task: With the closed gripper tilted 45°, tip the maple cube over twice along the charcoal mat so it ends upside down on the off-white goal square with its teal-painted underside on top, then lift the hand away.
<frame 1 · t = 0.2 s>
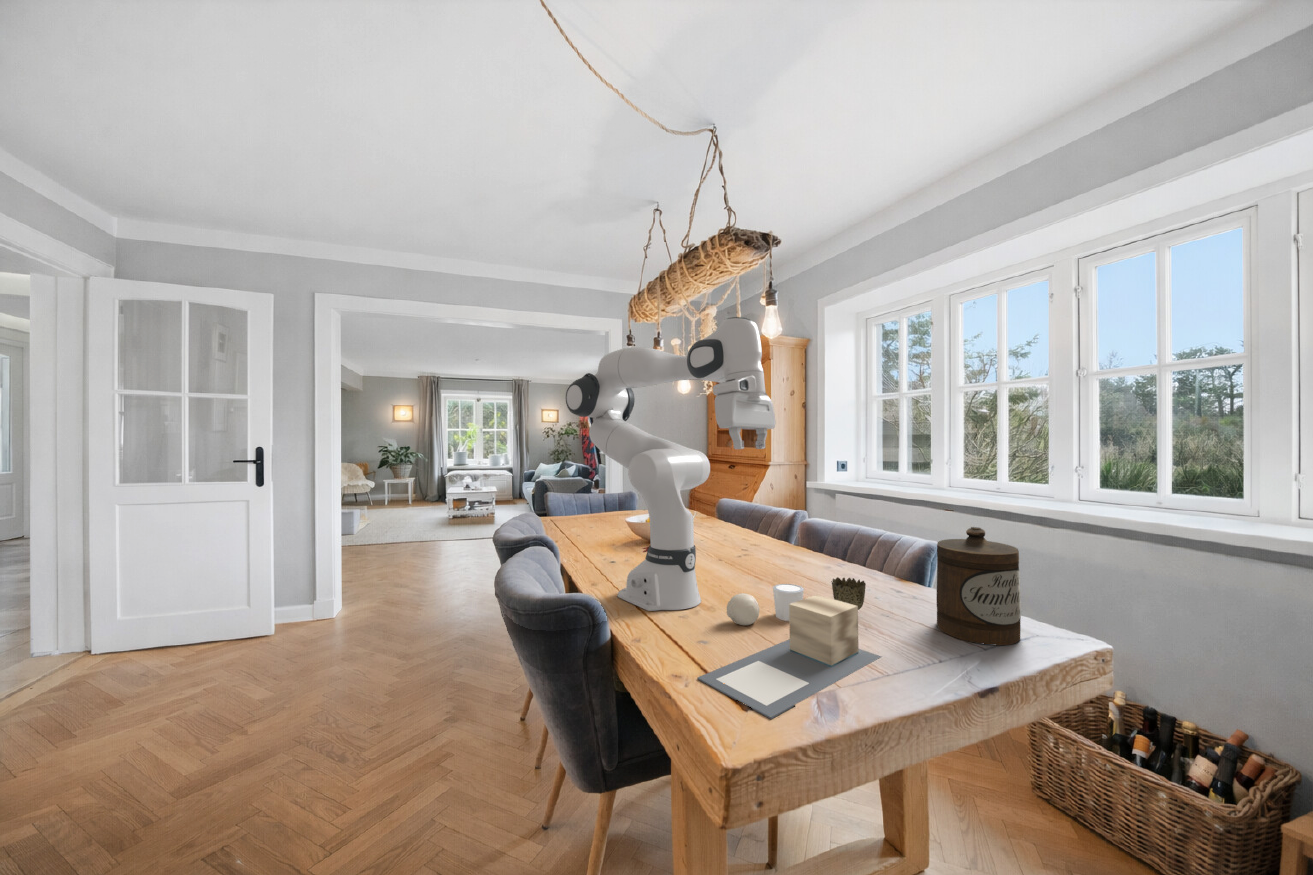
hand: (750, 448, 112), 39 cm above the table, tool pointing down, fingers open, 8 cm apart
wooden container: (977, 632, 105), on the table
cup: (849, 616, 115), on the table
maple cube: (823, 651, 96), resting on charcoal mat
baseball: (742, 625, 111), on the table
charcoal mat: (793, 668, 90), on the table
white cylindrical piece: (788, 618, 115), on the table
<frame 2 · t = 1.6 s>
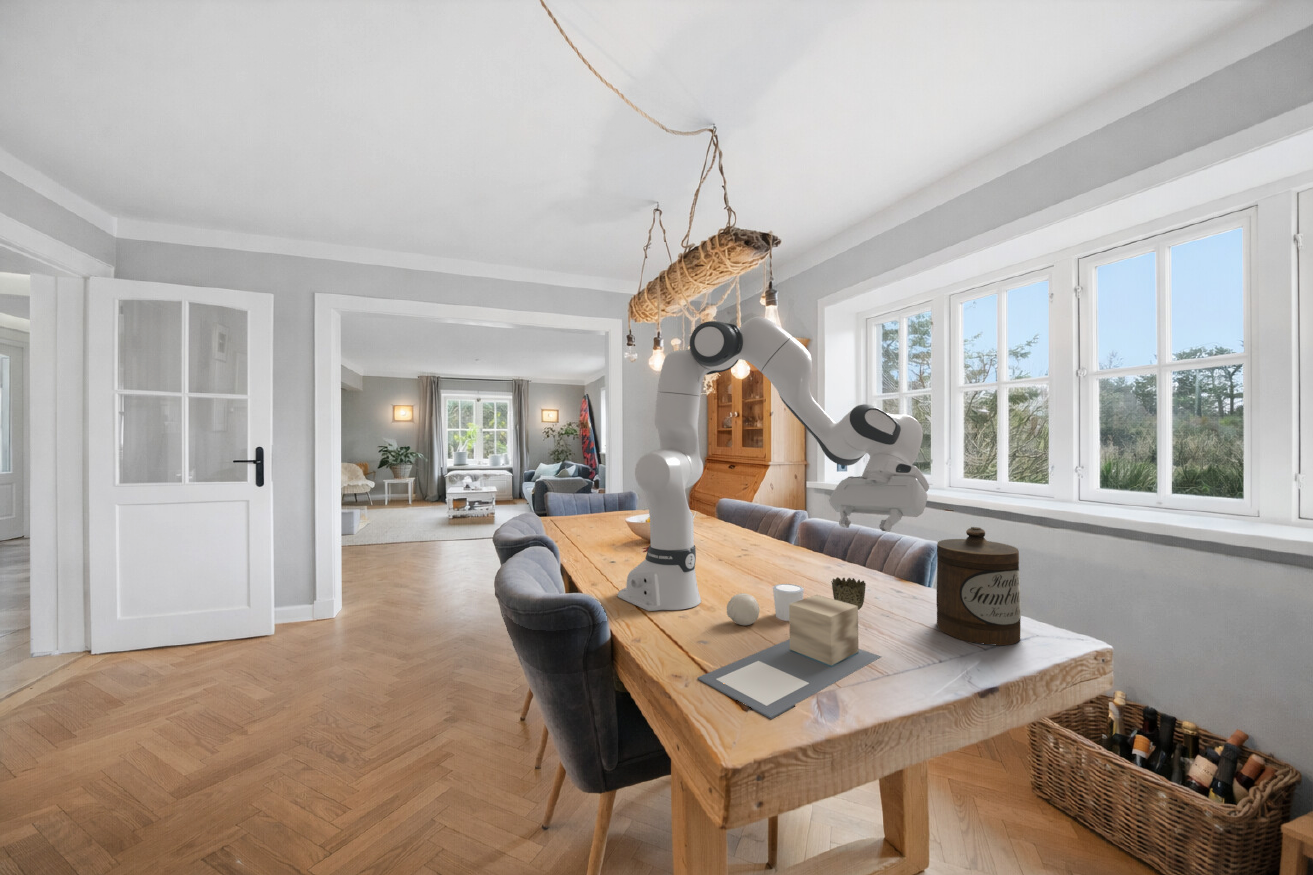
hand: (862, 527, 104), 22 cm above the table, tool tilted 45°, fingers open, 8 cm apart
nothing on the table moved.
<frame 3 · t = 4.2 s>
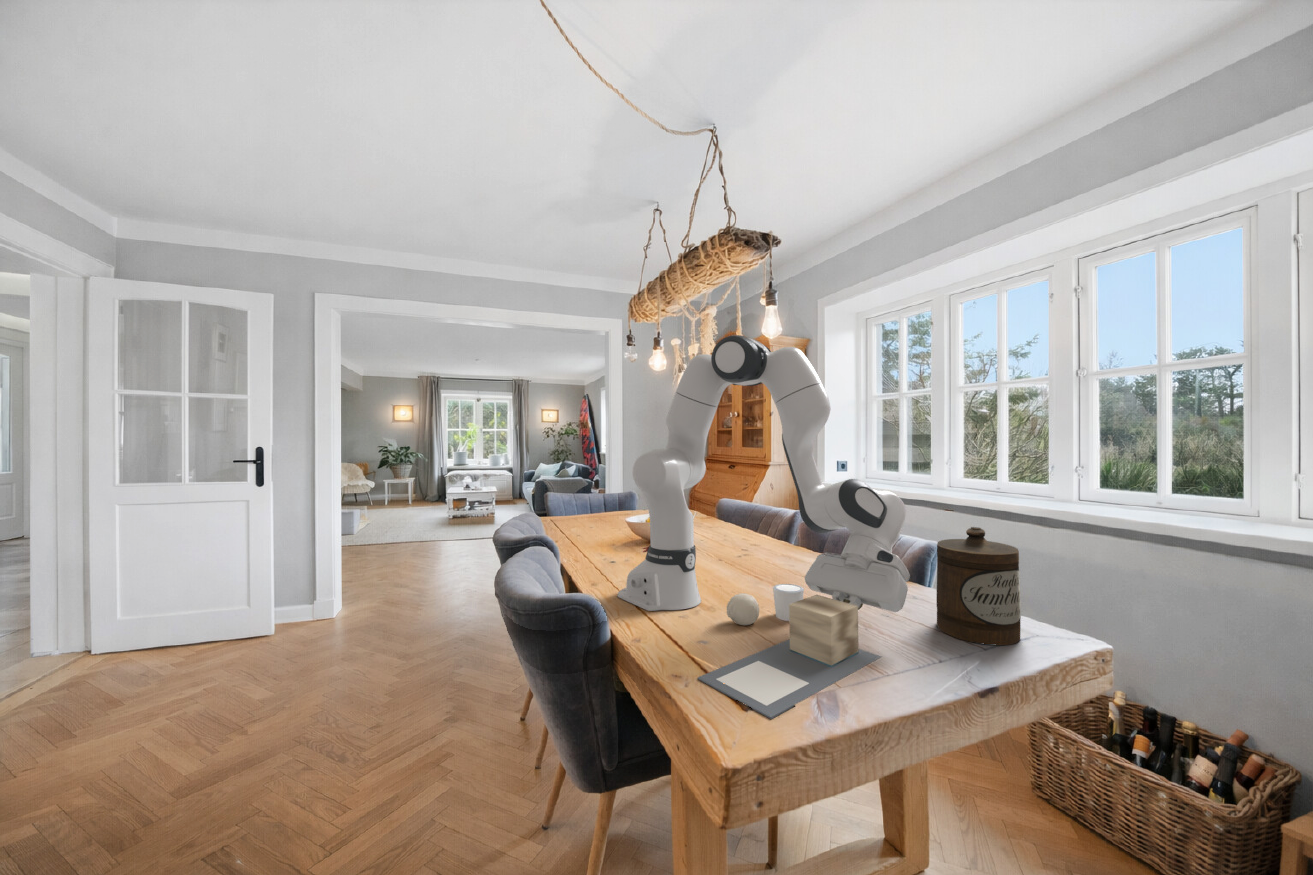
hand: (838, 616, 99), 6 cm above the table, tool tilted 45°, fingers closed, pressing on maple cube
maple cube: (823, 651, 96), resting on charcoal mat, touching gripper
everything else where it was.
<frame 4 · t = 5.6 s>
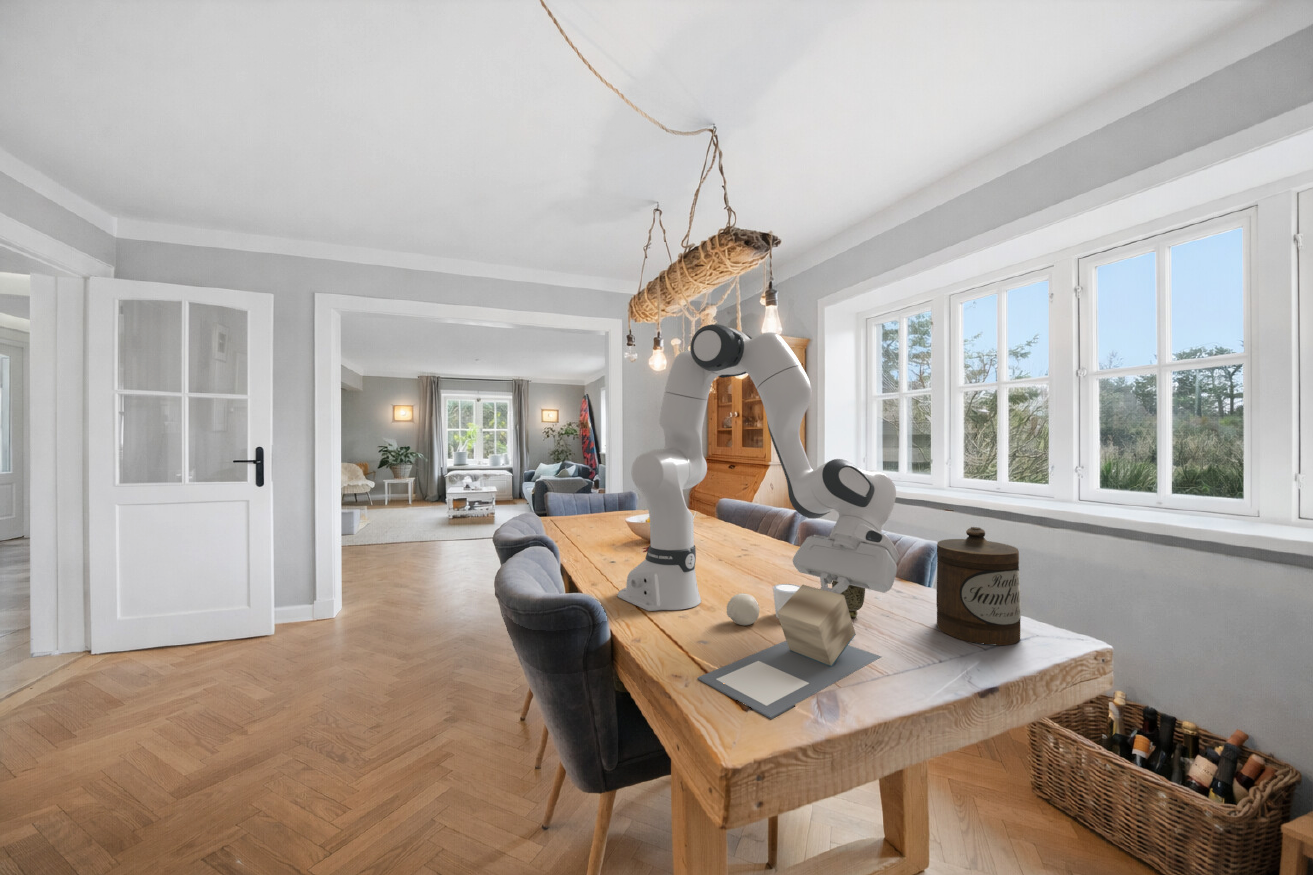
hand: (826, 597, 96), 10 cm above the table, tool tilted 45°, fingers closed
maple cube: (822, 642, 95), point 2 cm above the table, tilted 25°, touching charcoal mat, gripper
everything else where it was.
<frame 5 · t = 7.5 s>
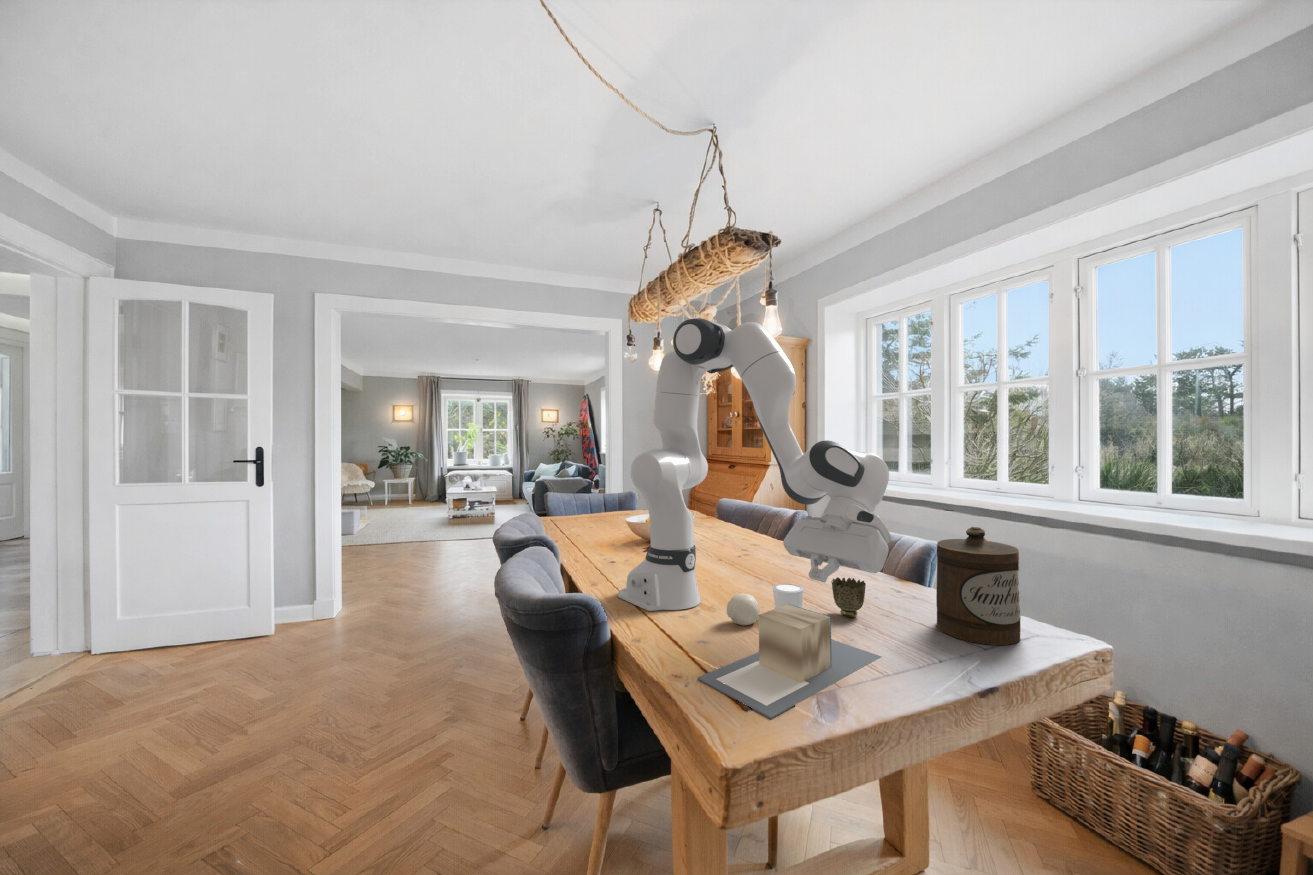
hand: (816, 579, 94), 15 cm above the table, tool tilted 45°, fingers closed
maple cube: (809, 634, 93), point 5 cm above the table, tilted 90°, touching charcoal mat
everything else where it was.
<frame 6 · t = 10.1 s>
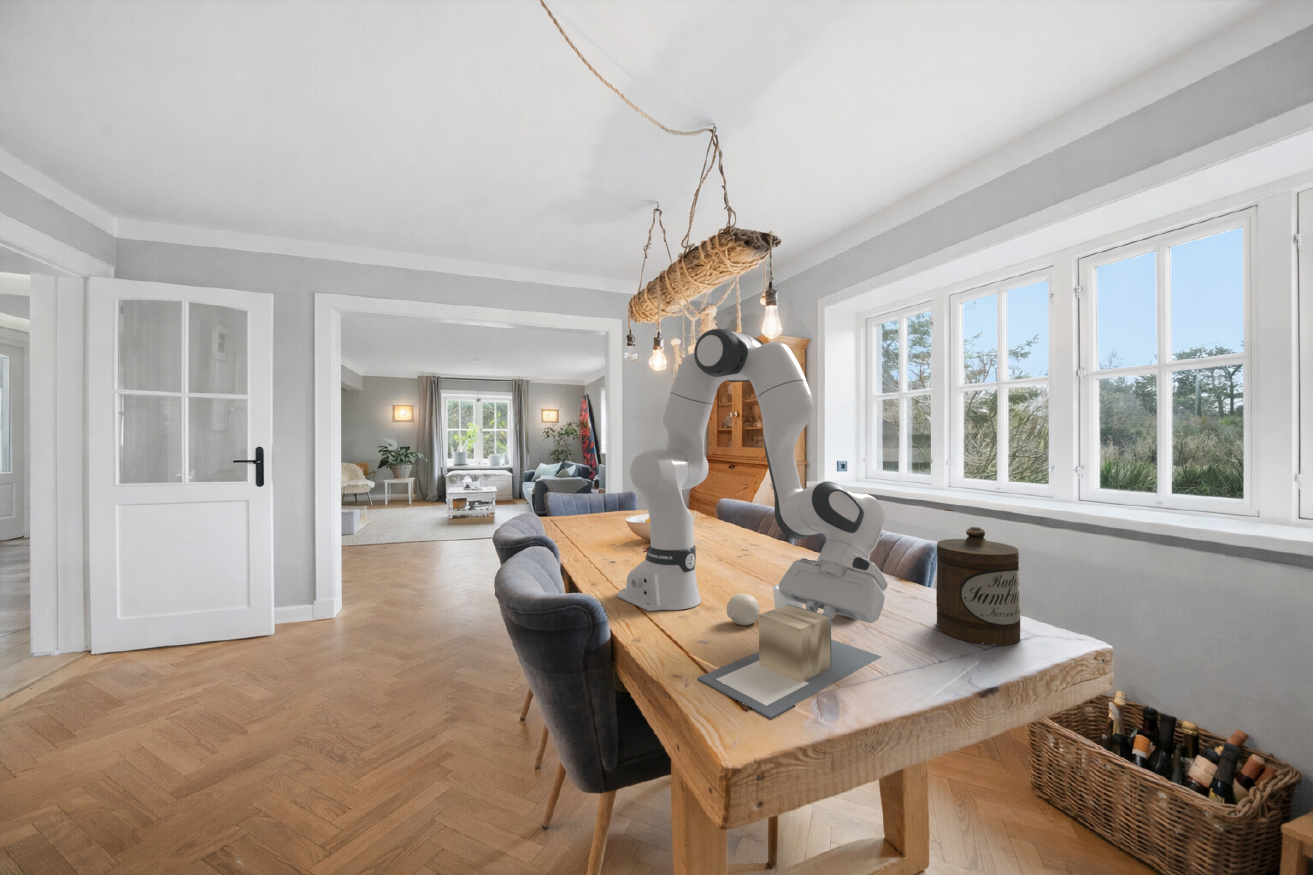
hand: (812, 627, 93), 6 cm above the table, tool tilted 45°, fingers closed, pressing on maple cube
maple cube: (809, 634, 93), point 5 cm above the table, tilted 90°, touching charcoal mat, gripper
everything else where it was.
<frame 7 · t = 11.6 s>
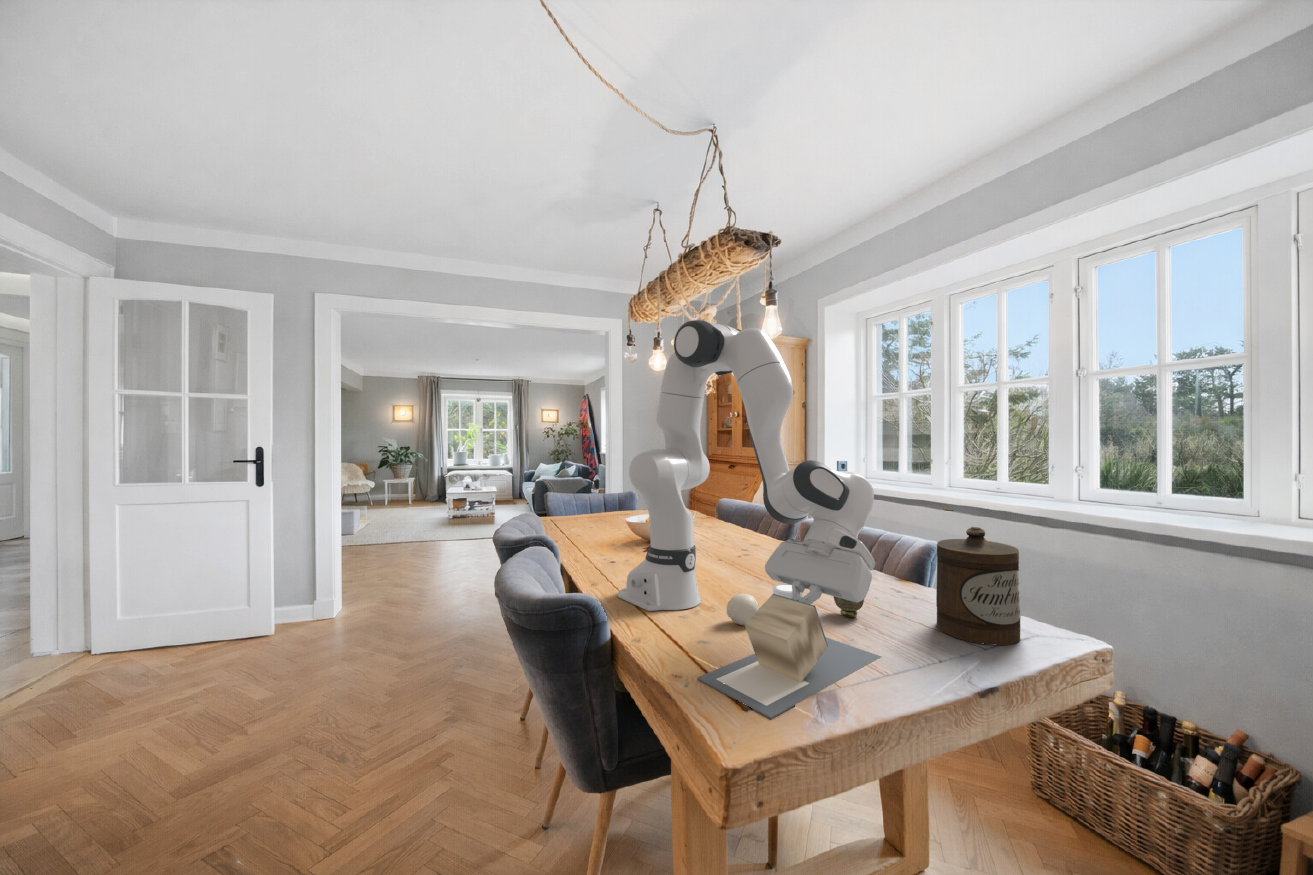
hand: (797, 607, 91), 11 cm above the table, tool tilted 45°, fingers closed
maple cube: (800, 619, 91), point 8 cm above the table, tilted 115°, touching charcoal mat, gripper
everything else where it was.
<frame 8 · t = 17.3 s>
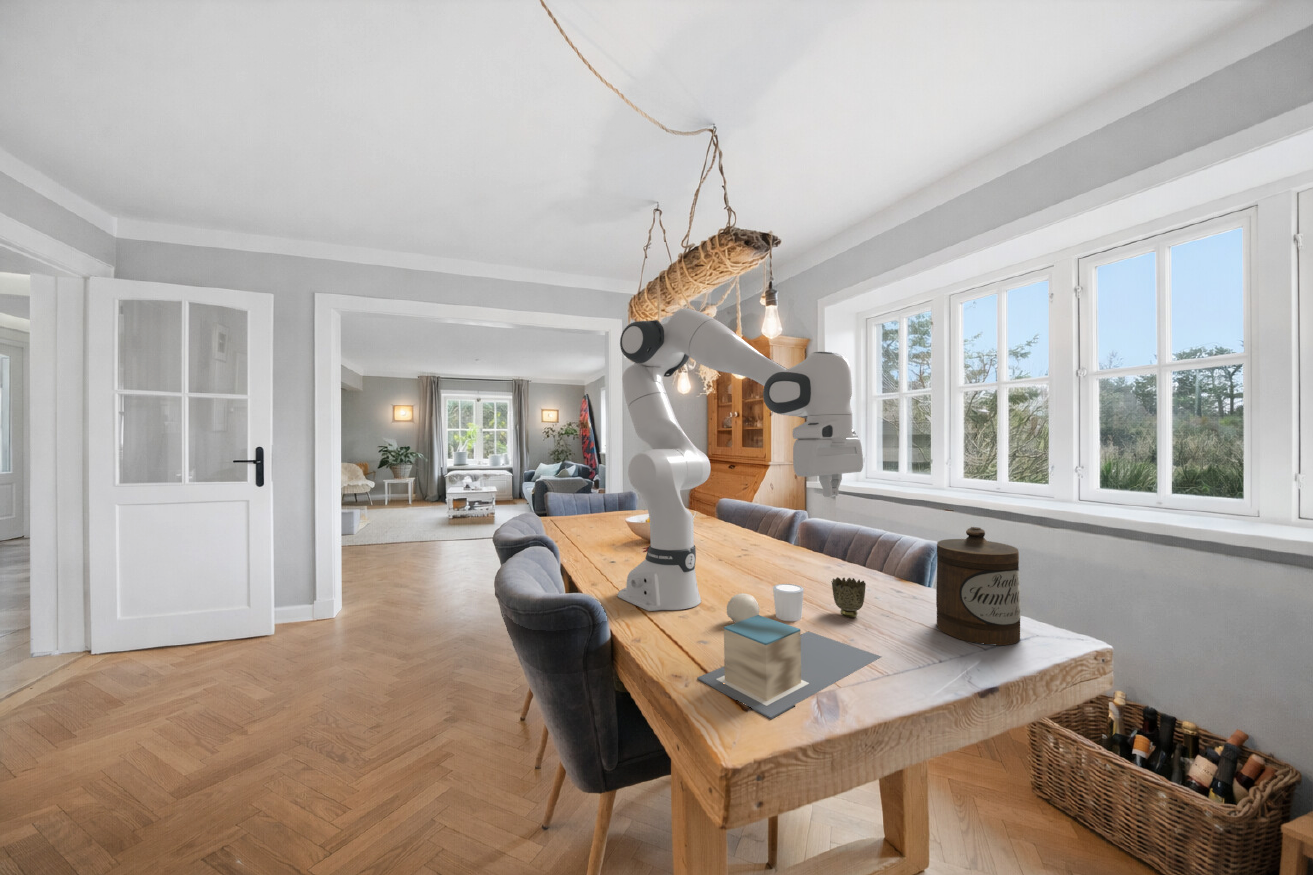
hand: (830, 496, 104), 29 cm above the table, tool pointing down, fingers closed
maple cube: (761, 628, 84), point 9 cm above the table, tilted 180°, touching charcoal mat
everything else where it was.
at the end: maple cube tilted 180°; maple cube inside the target area on the charcoal mat (0.1 cm from its centre), point 9.3 cm above the charcoal mat's base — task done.
